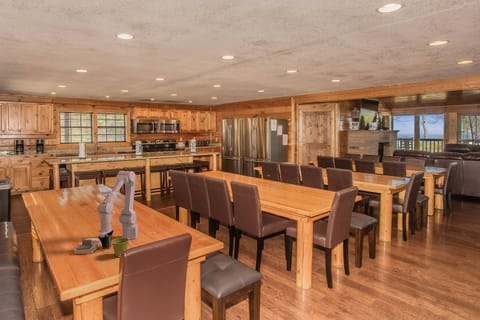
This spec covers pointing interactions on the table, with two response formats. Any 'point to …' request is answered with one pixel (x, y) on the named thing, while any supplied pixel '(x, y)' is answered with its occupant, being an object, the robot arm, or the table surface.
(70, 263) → the table surface
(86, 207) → the table surface
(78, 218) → the table surface
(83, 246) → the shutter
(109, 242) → the plug
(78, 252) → the socket plate
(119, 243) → the plant pot
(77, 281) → the table surface
